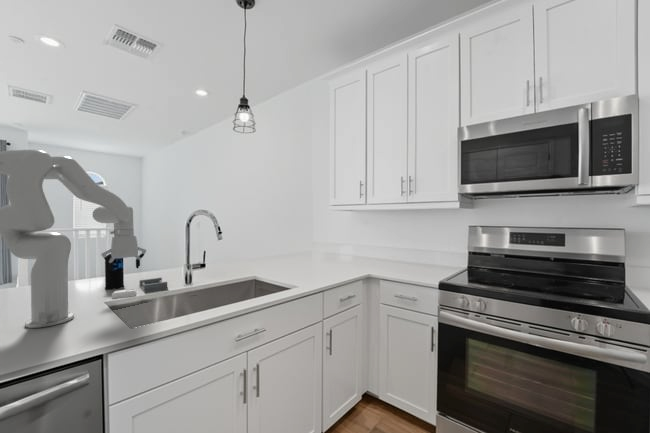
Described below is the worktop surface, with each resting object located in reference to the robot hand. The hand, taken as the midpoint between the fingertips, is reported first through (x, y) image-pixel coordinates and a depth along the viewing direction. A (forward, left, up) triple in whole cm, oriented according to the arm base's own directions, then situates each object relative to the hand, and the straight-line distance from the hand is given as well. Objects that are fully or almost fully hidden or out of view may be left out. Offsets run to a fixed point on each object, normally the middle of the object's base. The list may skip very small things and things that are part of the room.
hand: (125, 269), depth 136 cm
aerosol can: (+21, +2, -12) cm, 24 cm away
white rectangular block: (0, +1, -13) cm, 13 cm away
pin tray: (+7, -13, -12) cm, 19 cm away
